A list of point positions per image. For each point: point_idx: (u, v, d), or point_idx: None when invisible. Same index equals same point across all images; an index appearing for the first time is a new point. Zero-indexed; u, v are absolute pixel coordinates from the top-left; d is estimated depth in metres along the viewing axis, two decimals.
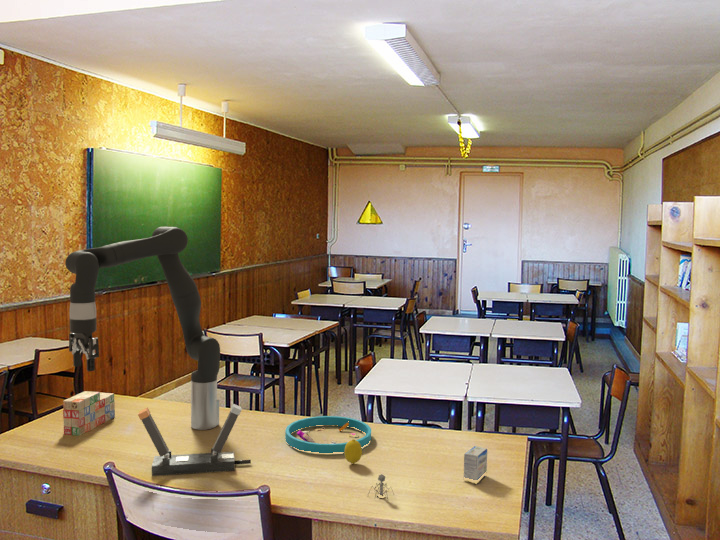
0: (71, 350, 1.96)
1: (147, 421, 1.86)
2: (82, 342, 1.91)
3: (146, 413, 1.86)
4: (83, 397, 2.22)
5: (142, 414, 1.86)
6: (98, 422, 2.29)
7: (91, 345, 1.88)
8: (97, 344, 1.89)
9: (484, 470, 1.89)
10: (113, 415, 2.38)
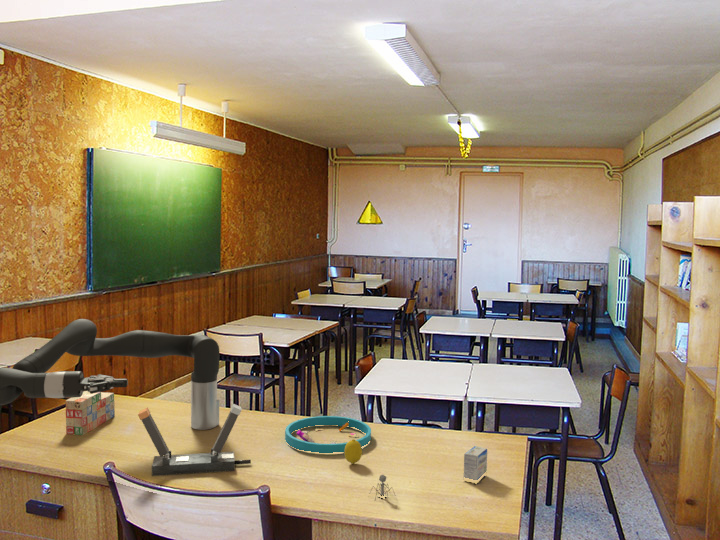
0: None
1: (147, 421, 1.86)
2: None
3: (146, 413, 1.86)
4: (85, 397, 2.22)
5: (142, 414, 1.86)
6: (99, 421, 2.29)
7: None
8: None
9: (484, 470, 1.89)
10: (113, 414, 2.38)
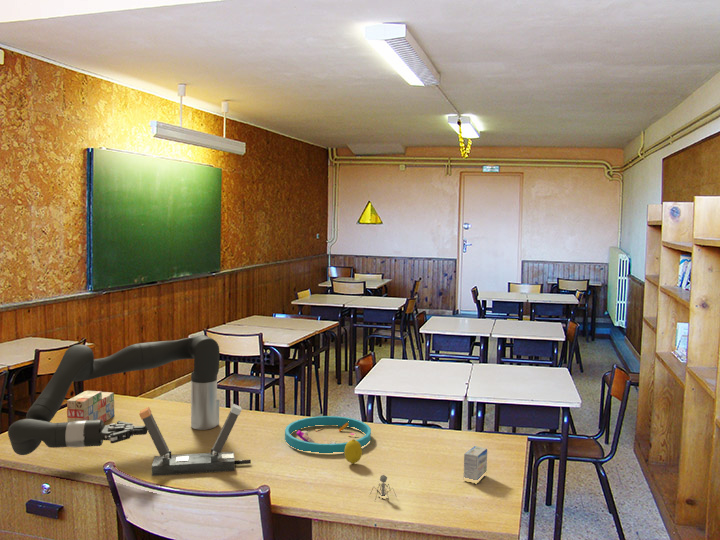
0: (127, 430, 1.84)
1: (148, 420, 1.86)
2: None
3: (147, 413, 1.86)
4: (86, 396, 2.23)
5: (143, 413, 1.86)
6: None
7: None
8: None
9: (484, 470, 1.89)
10: (113, 414, 2.39)
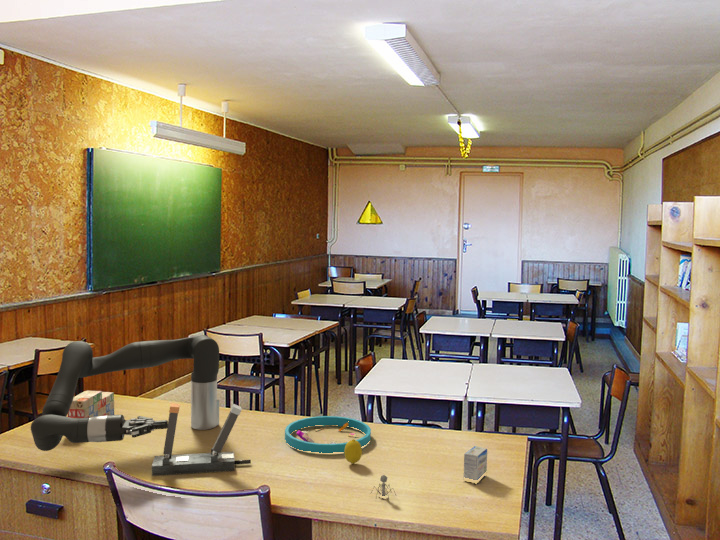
0: None
1: (174, 416, 1.88)
2: None
3: (177, 409, 1.88)
4: (87, 396, 2.23)
5: (173, 408, 1.88)
6: None
7: None
8: None
9: (484, 470, 1.89)
10: (113, 414, 2.39)
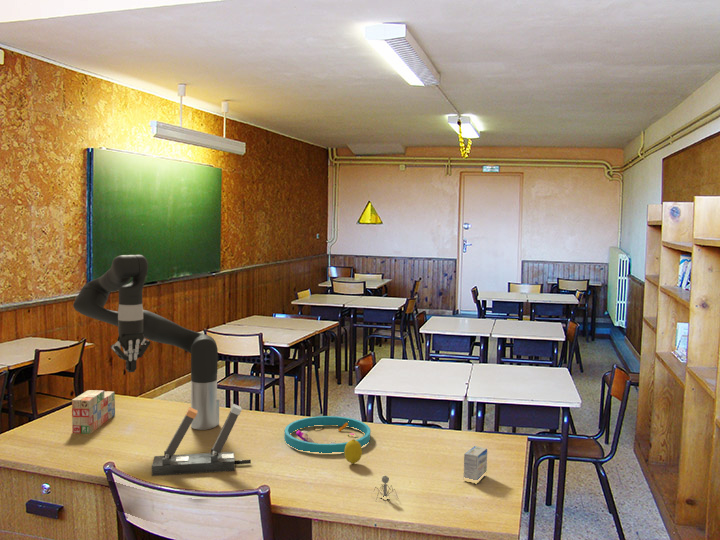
0: None
1: (188, 421, 1.89)
2: None
3: (194, 415, 1.89)
4: (91, 395, 2.24)
5: (191, 413, 1.89)
6: (103, 420, 2.31)
7: (114, 351, 1.96)
8: (117, 351, 1.95)
9: (484, 470, 1.89)
10: (114, 413, 2.40)
